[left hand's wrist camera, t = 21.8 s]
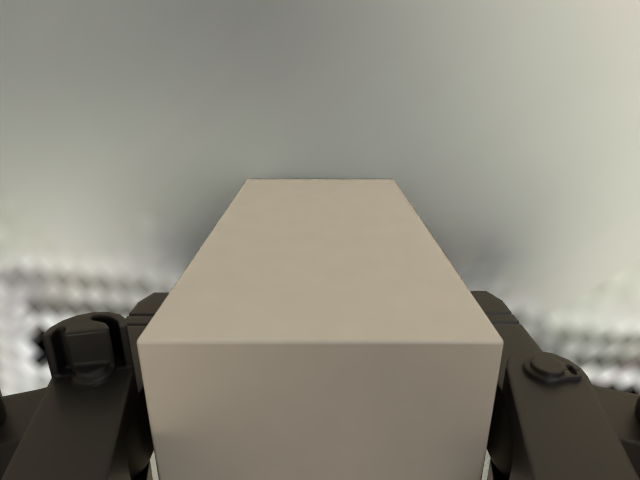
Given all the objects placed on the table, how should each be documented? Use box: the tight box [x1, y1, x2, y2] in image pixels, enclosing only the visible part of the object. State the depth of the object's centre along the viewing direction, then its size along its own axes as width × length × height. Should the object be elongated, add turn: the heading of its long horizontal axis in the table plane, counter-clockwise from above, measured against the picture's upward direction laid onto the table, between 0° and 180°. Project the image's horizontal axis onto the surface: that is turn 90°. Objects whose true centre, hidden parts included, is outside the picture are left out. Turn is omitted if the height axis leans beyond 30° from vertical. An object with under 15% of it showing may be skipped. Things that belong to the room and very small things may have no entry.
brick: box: [137, 179, 504, 480], centre depth 11 cm, size 5×5×9 cm
